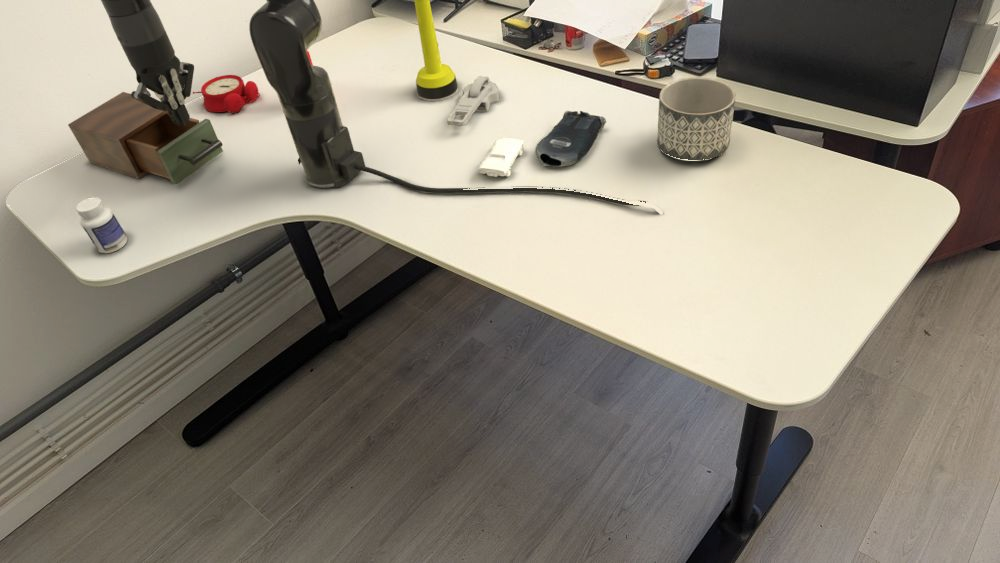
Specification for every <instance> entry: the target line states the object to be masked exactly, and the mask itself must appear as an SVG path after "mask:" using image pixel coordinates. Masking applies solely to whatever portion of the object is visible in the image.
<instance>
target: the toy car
mask: <svg viewBox="0 0 1000 563" xmlns="http://www.w3.org/2000/svg"><path fill="white" fill-rule="evenodd" d="M524 142H525V140H522V139H518V138H510V137H509V138H507V137H501V138H500V139H499V140H496V141H495V142H494V144H493V147H492V148H491V150H490V151H489V153H488V154H487V155H486V157H485V159H484V160H483V161H482V162H480V166H479V167H478V173H480V174H484V175H487V176H488V177H495V178H498V176H500V177H510V176H511V173H512V166H513V165H514V162H515V161H516V160H517V158H518V156H522V155H523V152H524ZM509 169H511V170H509ZM485 173H486V174H485ZM506 173H508V174H506Z"/></svg>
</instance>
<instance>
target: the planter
mask: <svg viewBox="0 0 1000 563" xmlns="http://www.w3.org/2000/svg"><path fill="white" fill-rule="evenodd" d="M736 95H737V94H736V91H735V90H734V88H733V87H731V85H729V84H727V83H725V82H724V81H721V80H718V79H715V78H710V77H703V76H702V77H701V76H691V77H685V78H679V79H677V80H673V81H671V82H669V83H668V84H666V85H664V86H663V87H662V89H661V90H660V92H659V96H658V117H657V133H656V134H657V136H656V143H657V146H658V148H659V150H660V149H661V150H662V151H663V152H664V153H663V152H662V151H661V150H660V151H661V152H662V153H663V154H665V153H666V154H669V155H670V156H673V157H676V158H680V159H688V160H703V159H704V160H705V159H710V158H714V157H716V158H718V157H720V156H722V155H723V154H724V153H725V152H726V151H727V150H728V149H729V147H730V143H731V134H732V127H733V120H734V113H735V112H734V111H735V105H736V98H737V97H736ZM666 154H665V155H666ZM721 154H722V155H721ZM719 155H720V156H719ZM670 156H669V157H670ZM717 156H718V157H717ZM714 159H715V158H714Z"/></svg>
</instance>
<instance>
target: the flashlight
mask: <svg viewBox="0 0 1000 563" xmlns="http://www.w3.org/2000/svg"><path fill="white" fill-rule="evenodd" d="M413 2H414V8H415V14H416V20H417V25H418V31H419V32H418V33H419V38H420V44H421V50H422V56H423V63H424V66H423V67H421V68H420V69H419V70H418V72H417V75H416V78H415V86H416V95H417V97H418V98H419V99H421V100H424V101H427V102H440V101H444V100H447V99H450V98H451V97H453V96H454V95H456V94H457V93H458V90H459V85H458V81H457V77H456V74H455V72H454V71H453V69H452V68H451V66H450V65H448V64H445V63H442V60H441V54H440V49H439V42H438V38H437V33H436V28H435V22H434V18H433V12H432V7H431V2H430V0H413Z"/></svg>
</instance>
